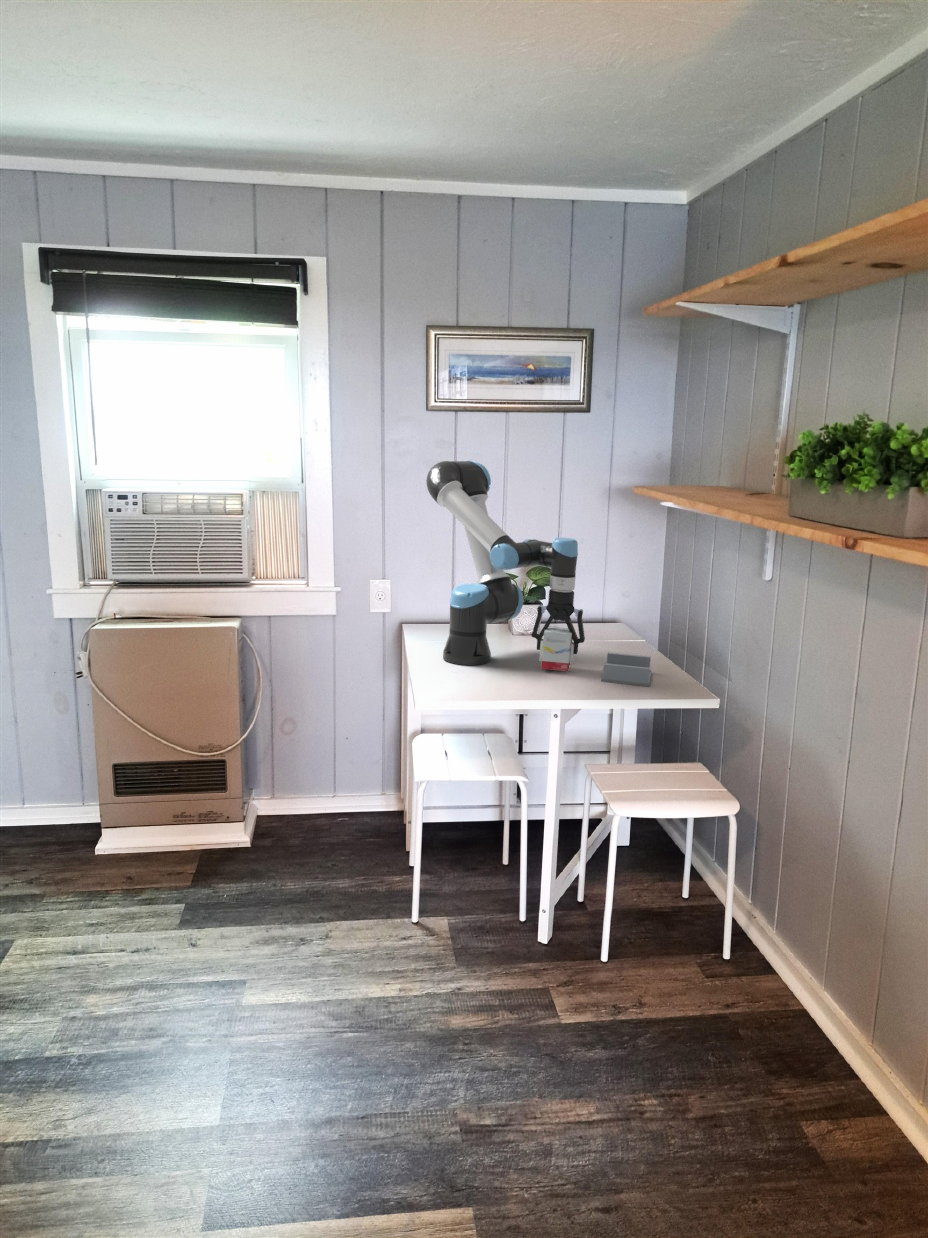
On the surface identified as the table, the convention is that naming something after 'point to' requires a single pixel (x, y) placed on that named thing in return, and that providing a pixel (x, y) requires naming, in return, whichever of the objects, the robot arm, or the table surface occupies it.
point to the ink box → (556, 649)
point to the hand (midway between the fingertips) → (556, 662)
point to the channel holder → (627, 669)
